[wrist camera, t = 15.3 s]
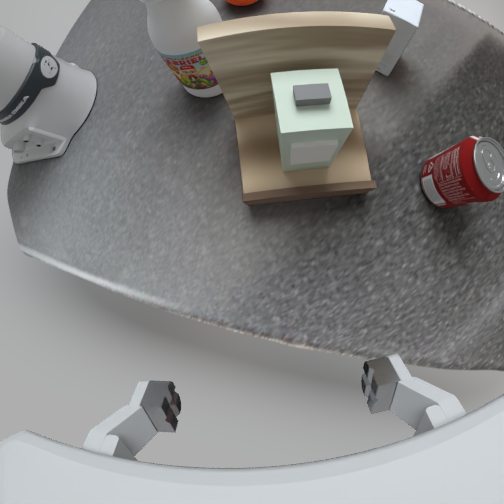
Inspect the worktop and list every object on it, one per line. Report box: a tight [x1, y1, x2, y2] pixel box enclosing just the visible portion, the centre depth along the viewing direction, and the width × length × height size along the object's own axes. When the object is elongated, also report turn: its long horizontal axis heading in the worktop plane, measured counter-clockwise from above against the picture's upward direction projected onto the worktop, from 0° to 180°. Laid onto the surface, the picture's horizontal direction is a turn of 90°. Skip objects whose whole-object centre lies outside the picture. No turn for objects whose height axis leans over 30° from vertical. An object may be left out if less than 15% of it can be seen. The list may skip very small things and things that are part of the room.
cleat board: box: [197, 12, 396, 206], centre depth 23 cm, size 11×14×18 cm
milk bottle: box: [140, 0, 222, 97], centre depth 23 cm, size 8×8×20 cm
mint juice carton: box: [270, 69, 354, 172], centre depth 23 cm, size 5×5×13 cm
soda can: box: [421, 136, 504, 208], centre depth 24 cm, size 7×7×12 cm
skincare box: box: [376, 0, 424, 76], centre depth 24 cm, size 6×4×12 cm
